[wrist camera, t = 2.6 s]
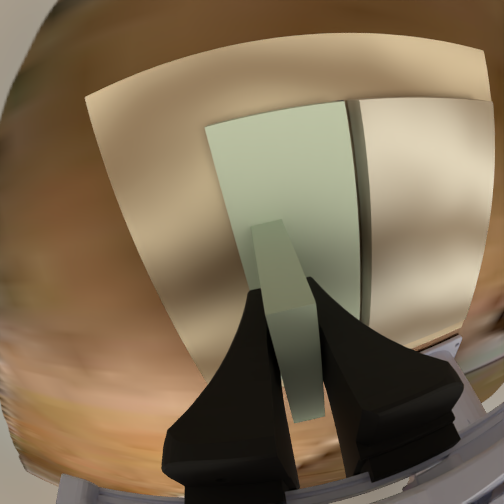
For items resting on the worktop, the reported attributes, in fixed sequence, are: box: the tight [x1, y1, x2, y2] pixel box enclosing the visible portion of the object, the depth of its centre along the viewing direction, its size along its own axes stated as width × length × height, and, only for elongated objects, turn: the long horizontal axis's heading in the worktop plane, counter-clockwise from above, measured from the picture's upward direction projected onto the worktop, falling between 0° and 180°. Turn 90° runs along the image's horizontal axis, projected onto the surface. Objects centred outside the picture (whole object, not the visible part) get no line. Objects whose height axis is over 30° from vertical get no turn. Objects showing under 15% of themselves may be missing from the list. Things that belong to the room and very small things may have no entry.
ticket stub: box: [204, 101, 360, 423], centre depth 11 cm, size 14×5×6 cm, turn 13°
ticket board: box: [85, 33, 495, 387], centre depth 13 cm, size 20×20×3 cm
